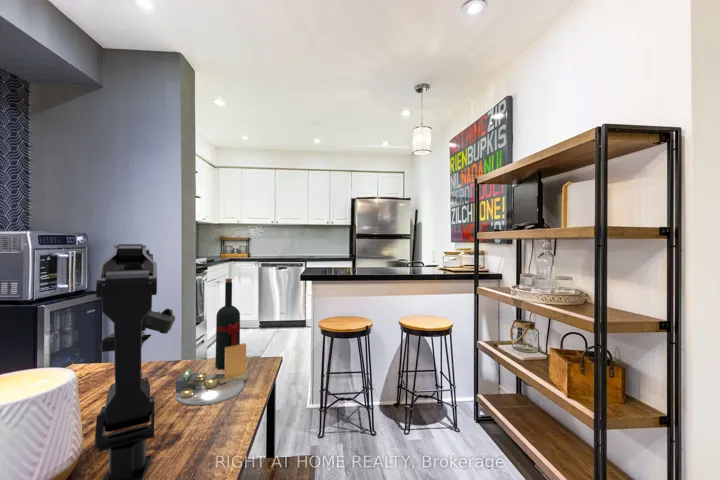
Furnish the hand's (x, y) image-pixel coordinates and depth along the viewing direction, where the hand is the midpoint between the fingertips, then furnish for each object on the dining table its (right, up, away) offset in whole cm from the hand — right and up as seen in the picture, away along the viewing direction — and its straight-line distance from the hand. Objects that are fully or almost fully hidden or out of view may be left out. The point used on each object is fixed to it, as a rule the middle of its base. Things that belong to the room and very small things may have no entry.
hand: (132, 368), depth 77 cm
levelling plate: (+10, -13, +18) cm, 25 cm away
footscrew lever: (+13, -12, +21) cm, 27 cm away
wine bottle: (+8, -13, +36) cm, 39 cm away
